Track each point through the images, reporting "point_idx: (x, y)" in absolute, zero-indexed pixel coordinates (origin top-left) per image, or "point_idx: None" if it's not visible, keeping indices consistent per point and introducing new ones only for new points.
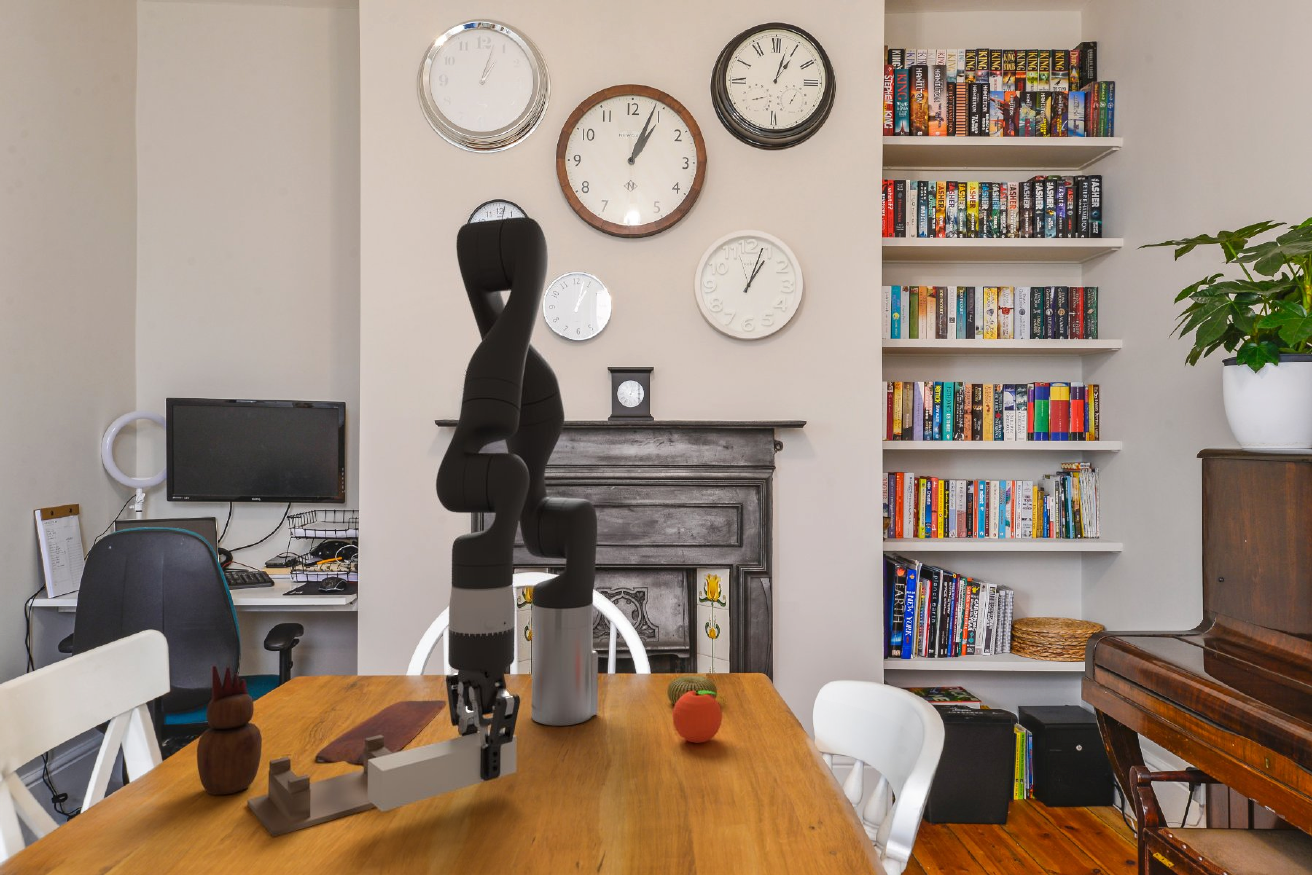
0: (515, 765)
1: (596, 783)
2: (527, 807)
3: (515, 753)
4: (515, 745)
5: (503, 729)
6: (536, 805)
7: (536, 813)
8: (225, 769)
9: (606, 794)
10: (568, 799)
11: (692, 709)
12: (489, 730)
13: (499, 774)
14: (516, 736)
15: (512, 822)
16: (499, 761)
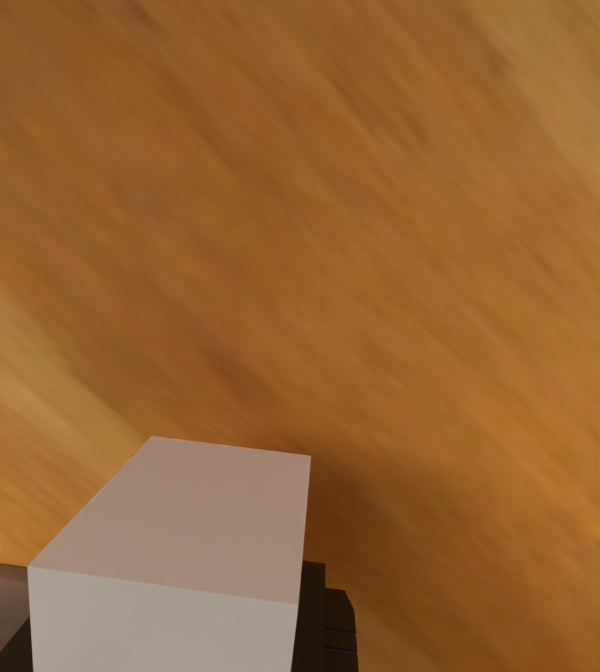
0: (307, 475)
1: (469, 86)
2: (416, 435)
3: (304, 517)
4: (302, 554)
5: (98, 577)
6: (429, 404)
7: (479, 443)
8: None
9: (589, 136)
10: (488, 289)
11: None
12: (52, 651)
13: (323, 565)
14: (298, 600)
15: (465, 531)
16: (356, 657)
